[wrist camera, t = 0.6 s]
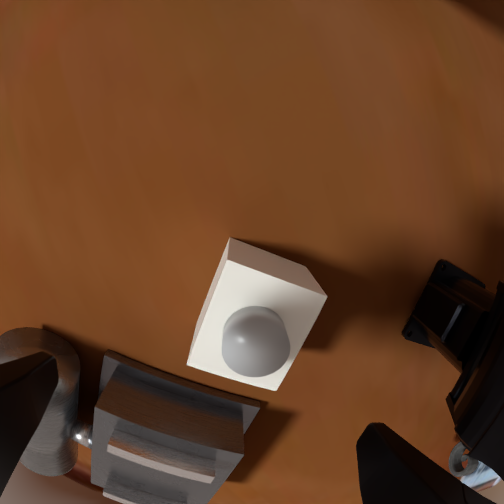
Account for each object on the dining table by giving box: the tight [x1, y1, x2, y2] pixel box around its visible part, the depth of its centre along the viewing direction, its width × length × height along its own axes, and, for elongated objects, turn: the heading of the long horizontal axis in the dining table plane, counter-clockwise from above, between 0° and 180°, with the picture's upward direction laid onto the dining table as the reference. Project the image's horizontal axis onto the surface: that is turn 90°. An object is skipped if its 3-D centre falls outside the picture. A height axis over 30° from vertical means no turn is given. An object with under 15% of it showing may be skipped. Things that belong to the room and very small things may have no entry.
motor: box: [0, 327, 260, 504], centre depth 18 cm, size 20×14×7 cm
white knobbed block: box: [187, 237, 328, 391], centre depth 16 cm, size 5×6×6 cm
